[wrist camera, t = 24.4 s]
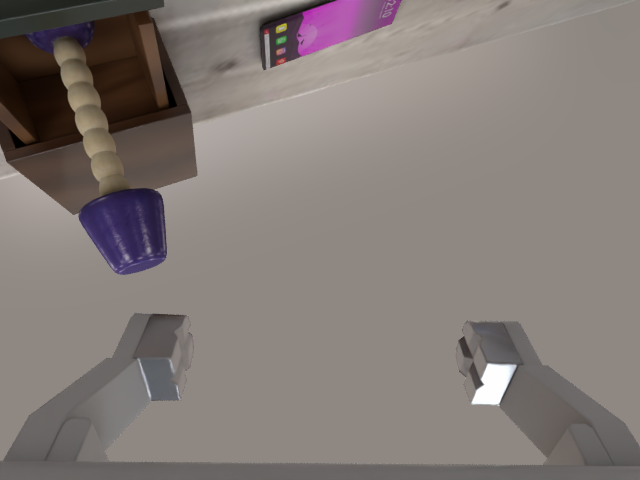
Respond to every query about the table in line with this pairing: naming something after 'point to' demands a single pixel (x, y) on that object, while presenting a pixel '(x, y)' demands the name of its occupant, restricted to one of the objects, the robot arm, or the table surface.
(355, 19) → the smartphone
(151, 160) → the cabinet
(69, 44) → the toy lamp
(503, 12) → the table surface
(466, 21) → the table surface
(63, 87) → the drawer
